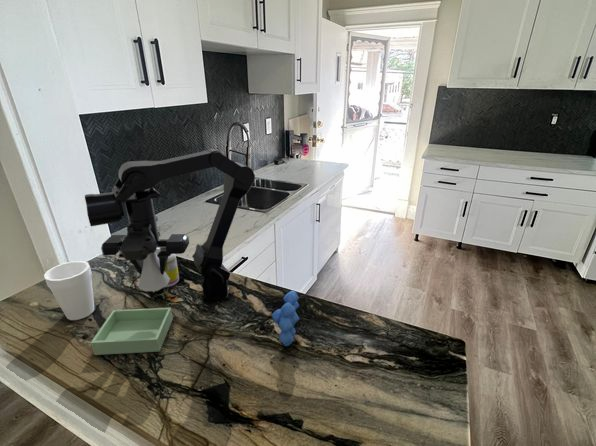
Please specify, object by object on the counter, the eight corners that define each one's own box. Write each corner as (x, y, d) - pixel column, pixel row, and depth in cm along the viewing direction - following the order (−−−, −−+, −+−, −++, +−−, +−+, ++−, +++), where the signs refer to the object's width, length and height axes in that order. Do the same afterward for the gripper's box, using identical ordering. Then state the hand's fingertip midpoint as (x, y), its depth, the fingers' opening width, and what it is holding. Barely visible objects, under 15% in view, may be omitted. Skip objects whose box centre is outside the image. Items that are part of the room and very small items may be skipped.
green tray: (173, 318, 82) (171, 307, 80) (159, 351, 72) (157, 339, 70) (116, 321, 81) (113, 310, 79) (94, 355, 70) (90, 342, 69)
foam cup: (50, 318, 81) (35, 275, 76) (84, 298, 89) (72, 258, 84) (75, 328, 78) (61, 284, 73) (108, 306, 86) (97, 265, 81)
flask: (158, 294, 77) (152, 258, 73) (132, 290, 78) (124, 254, 74) (175, 278, 83) (170, 244, 79) (151, 275, 85) (144, 241, 81)
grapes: (277, 319, 82) (276, 280, 78) (302, 322, 81) (303, 283, 77) (265, 352, 72) (264, 310, 67) (294, 356, 71) (295, 313, 66)
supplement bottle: (151, 283, 96) (144, 246, 91) (170, 274, 101) (164, 238, 96) (166, 290, 93) (159, 252, 88) (184, 280, 98) (178, 243, 93)
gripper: (80, 231, 65) (97, 294, 71) (172, 230, 67) (182, 291, 73) (106, 212, 75) (119, 268, 82) (186, 212, 77) (193, 267, 83)
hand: (152, 274), depth 79 cm, fingers closed on flask, 5 cm apart
